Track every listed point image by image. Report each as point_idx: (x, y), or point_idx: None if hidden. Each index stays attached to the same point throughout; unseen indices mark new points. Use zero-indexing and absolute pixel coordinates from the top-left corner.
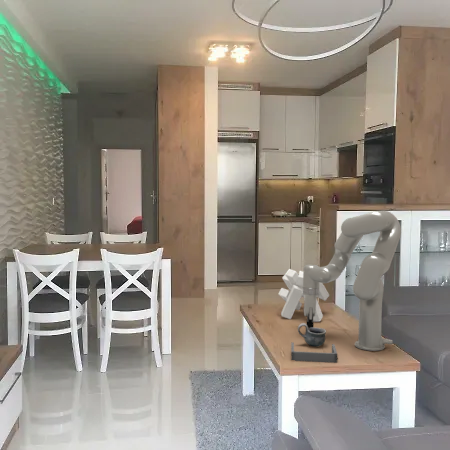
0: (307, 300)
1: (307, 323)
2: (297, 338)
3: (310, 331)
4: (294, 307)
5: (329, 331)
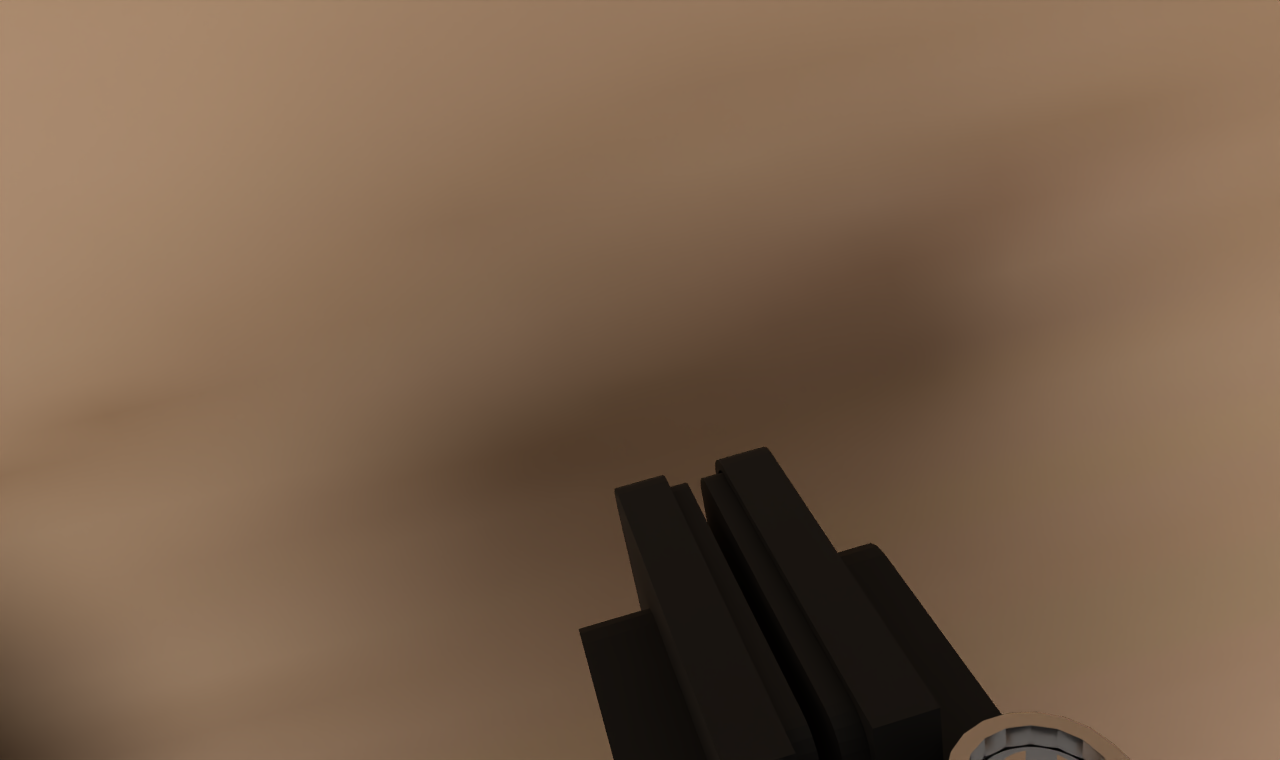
0: None
1: (701, 724)
2: (188, 74)
3: None
4: None
5: (1250, 735)
